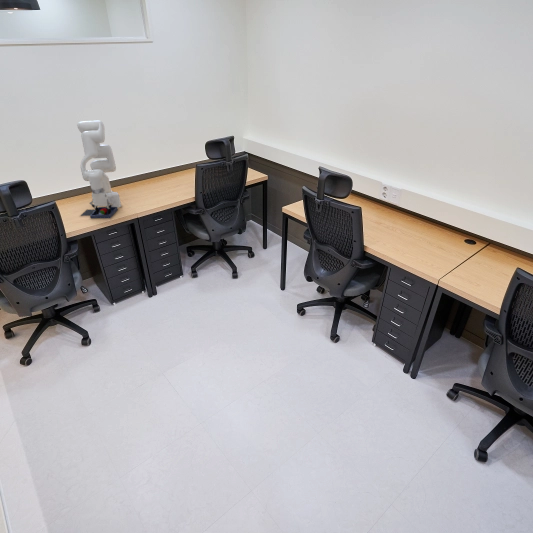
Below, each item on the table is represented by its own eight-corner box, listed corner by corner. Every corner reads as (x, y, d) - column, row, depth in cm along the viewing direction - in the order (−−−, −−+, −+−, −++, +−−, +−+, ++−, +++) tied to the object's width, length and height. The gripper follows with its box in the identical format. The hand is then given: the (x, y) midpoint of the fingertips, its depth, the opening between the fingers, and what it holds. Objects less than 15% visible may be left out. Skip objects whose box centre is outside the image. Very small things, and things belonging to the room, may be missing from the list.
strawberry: (104, 211, 265) (102, 206, 263) (109, 211, 265) (108, 206, 263) (99, 215, 259) (98, 210, 256) (105, 216, 259) (103, 210, 256)
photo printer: (120, 205, 276) (117, 190, 269) (122, 207, 273) (118, 192, 266) (107, 208, 271) (103, 193, 264) (108, 210, 268) (104, 194, 261)
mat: (87, 210, 268) (87, 209, 268) (96, 210, 268) (96, 209, 268) (80, 216, 259) (80, 215, 259) (90, 216, 259) (89, 215, 259)
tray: (99, 210, 268) (98, 206, 267) (118, 210, 268) (117, 207, 267) (90, 218, 256) (89, 215, 254) (110, 218, 255) (109, 215, 254)
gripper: (111, 188, 254) (117, 211, 264) (88, 188, 254) (94, 211, 264) (107, 192, 248) (113, 215, 257) (83, 192, 248) (90, 215, 258)
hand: (103, 213), depth 261 cm, fingers open, 8 cm apart
